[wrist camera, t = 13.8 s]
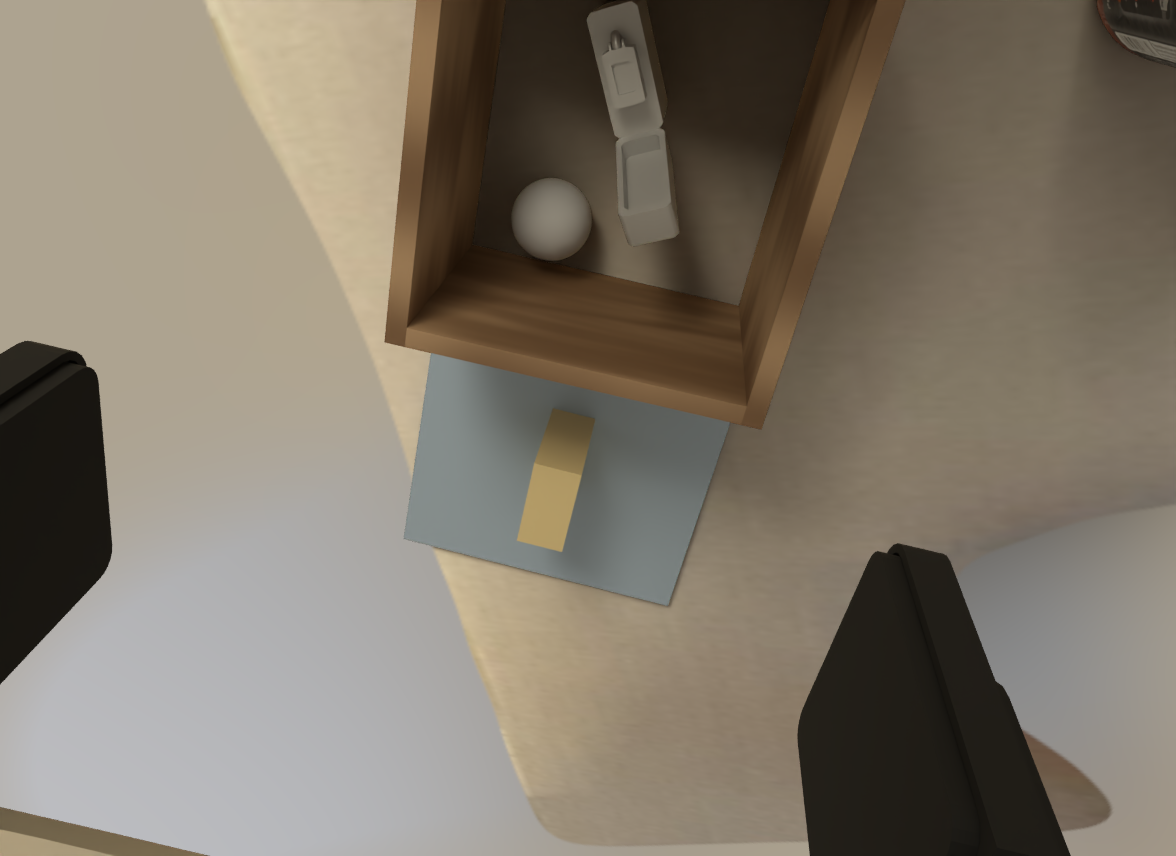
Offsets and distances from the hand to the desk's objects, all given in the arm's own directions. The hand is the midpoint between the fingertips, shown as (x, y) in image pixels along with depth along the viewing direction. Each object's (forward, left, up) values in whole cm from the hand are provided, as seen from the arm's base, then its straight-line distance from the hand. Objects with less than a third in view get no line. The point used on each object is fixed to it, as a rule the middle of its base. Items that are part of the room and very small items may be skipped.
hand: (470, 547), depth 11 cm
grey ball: (+4, -2, -28) cm, 28 cm away
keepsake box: (0, 0, -28) cm, 28 cm away
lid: (+15, 0, -29) cm, 32 cm away
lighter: (-1, 0, -28) cm, 28 cm away
